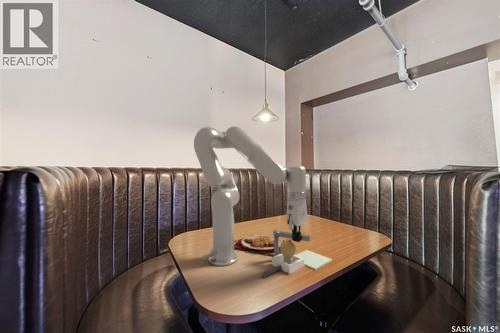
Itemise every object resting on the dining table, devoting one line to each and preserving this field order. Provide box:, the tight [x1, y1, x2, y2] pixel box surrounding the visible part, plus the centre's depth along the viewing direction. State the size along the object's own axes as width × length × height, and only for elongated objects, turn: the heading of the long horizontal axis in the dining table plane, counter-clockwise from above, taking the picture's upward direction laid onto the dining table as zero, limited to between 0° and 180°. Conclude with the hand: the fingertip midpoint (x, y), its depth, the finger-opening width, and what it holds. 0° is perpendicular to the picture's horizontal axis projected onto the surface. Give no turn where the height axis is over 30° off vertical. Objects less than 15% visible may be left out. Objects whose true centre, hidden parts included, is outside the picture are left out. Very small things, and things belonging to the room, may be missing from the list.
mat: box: [295, 249, 333, 271], centre depth 86 cm, size 13×13×1 cm
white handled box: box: [261, 236, 305, 278], centre depth 79 cm, size 20×12×10 cm, turn 129°
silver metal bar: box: [272, 230, 312, 242], centre depth 83 cm, size 3×16×2 cm, turn 62°
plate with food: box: [234, 233, 292, 256], centre depth 105 cm, size 25×26×4 cm
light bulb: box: [280, 240, 297, 264], centre depth 81 cm, size 6×6×10 cm
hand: (296, 240), depth 80 cm, fingers closed
